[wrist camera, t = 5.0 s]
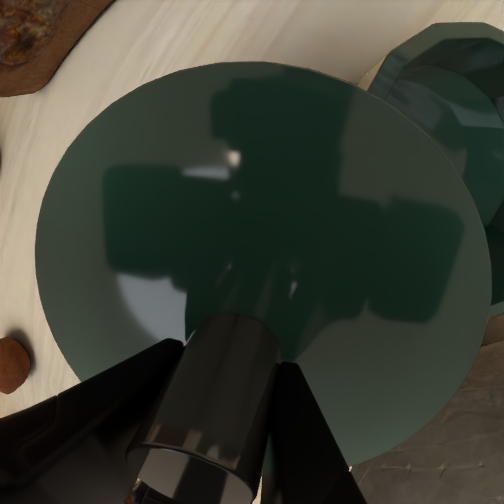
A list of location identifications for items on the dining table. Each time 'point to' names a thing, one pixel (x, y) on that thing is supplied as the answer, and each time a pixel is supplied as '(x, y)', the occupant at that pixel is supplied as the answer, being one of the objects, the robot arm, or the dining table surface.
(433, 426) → the bowl
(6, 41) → the sculpture
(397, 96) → the pot
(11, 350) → the potato
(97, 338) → the pot lid
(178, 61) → the dining table surface
